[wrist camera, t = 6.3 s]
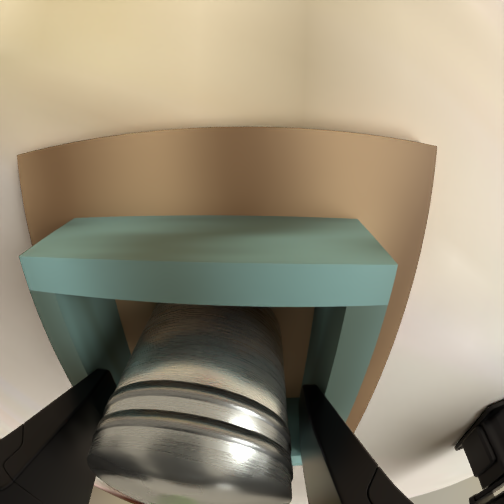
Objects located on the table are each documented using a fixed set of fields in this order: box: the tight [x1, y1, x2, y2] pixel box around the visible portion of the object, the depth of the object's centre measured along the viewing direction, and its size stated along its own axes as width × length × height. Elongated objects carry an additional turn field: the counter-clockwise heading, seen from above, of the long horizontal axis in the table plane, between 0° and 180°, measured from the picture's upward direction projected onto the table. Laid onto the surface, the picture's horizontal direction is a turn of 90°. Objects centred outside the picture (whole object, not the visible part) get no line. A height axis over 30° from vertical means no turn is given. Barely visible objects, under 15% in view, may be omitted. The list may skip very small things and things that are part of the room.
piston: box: [87, 302, 293, 504], centre depth 8 cm, size 5×5×6 cm
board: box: [17, 127, 437, 466], centre depth 10 cm, size 14×18×4 cm
